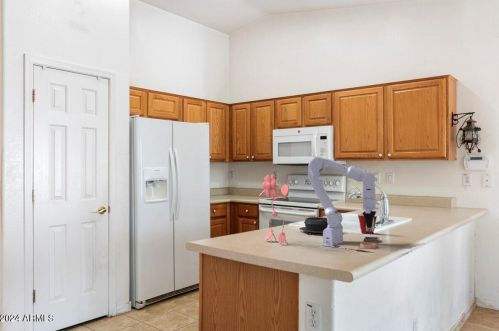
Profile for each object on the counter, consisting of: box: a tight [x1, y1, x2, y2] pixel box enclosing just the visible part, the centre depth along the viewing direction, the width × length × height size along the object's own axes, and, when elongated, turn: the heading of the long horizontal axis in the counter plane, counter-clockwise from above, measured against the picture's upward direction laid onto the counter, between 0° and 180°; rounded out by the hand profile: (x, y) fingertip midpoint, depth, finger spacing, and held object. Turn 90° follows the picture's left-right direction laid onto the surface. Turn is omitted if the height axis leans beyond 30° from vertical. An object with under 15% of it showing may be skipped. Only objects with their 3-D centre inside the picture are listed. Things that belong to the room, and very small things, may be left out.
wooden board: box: [357, 239, 382, 254], centre depth 179 cm, size 23×8×2 cm, turn 156°
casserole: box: [299, 216, 329, 235], centre depth 222 cm, size 25×19×8 cm
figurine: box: [258, 174, 290, 245], centre depth 193 cm, size 15×26×35 cm, turn 32°
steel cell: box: [366, 218, 375, 232], centre depth 180 cm, size 4×4×8 cm
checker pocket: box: [363, 236, 380, 243], centre depth 186 cm, size 7×7×2 cm
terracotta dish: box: [359, 242, 376, 250], centre depth 172 cm, size 7×7×2 cm
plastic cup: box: [357, 213, 379, 235], centre depth 209 cm, size 11×11×12 cm
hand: (369, 227), depth 180 cm, fingers closed on steel cell, 4 cm apart
